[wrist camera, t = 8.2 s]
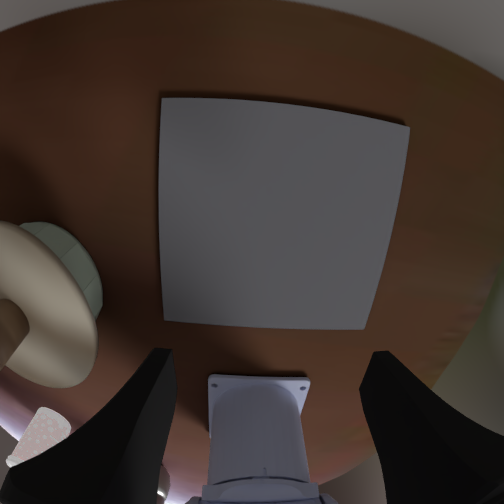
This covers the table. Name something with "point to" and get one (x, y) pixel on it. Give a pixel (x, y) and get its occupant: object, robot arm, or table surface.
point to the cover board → (42, 313)
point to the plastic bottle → (163, 485)
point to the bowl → (72, 260)
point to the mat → (274, 212)
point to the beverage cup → (40, 435)
